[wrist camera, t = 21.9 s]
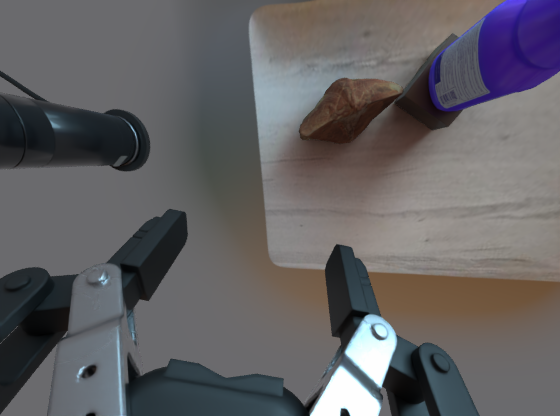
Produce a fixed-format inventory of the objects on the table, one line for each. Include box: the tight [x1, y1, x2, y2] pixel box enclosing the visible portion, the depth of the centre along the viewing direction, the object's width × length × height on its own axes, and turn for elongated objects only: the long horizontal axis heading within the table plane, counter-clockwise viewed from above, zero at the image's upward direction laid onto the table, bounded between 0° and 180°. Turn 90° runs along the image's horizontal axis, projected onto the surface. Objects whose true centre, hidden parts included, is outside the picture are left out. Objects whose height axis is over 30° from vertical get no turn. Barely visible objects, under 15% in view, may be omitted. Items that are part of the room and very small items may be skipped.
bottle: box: [429, 0, 560, 111], centre depth 18 cm, size 7×6×17 cm
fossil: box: [299, 78, 404, 144], centre depth 30 cm, size 13×8×10 cm
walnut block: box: [394, 33, 463, 130], centre depth 28 cm, size 7×8×4 cm
